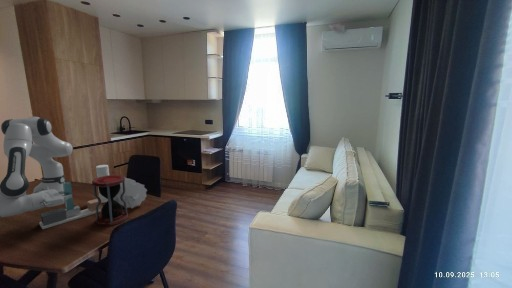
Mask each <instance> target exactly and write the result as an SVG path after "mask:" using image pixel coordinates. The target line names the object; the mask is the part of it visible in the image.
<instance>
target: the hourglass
mask: <svg viewBox="0 0 512 288" xmlns="http://www.w3.org/2000/svg"><path fill="white" fill-rule="evenodd" d="M91 182H92V183H91V185H92V187H93V196H94V197H95V199H98V204H97V205H96V213H95V214H96V215H95V216H96V220H95V222H96V225H97V226H100V227H107V226H108V227H109V226H114V225H118V224H120V223H123V222H124V221H125V220H127V219H128V217H129V213H128V208H127V205H126V201H124V200H123V195H124V194H125V175H121V174H109V175H108V176H102V177H99V178H97V177H96V178H94V179H92V180H91ZM120 183H123V193H122V194H121V196H120V199H121V201H123V203H124V206H123V205H121V204H120V203H118V202H117V201H115V200H113V198H114V197H115V196H116V195H117V194H118V193H119V191H120ZM98 188H99V192H98V194H99V193H100V194H101V195H102V196H103V197H105V198H107V199H108V201H107V202H106V203H104V204H103V205H102V209H101V212H99V213H100V214H101V215H99V213H98V206H99V205H100V204H101V199H100V198H99V195H97V189H98ZM123 208H124V210H123Z"/></svg>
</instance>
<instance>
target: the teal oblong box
mask: <svg viewBox="0 0 512 288" xmlns="http://www.w3.org/2000/svg"><path fill="white" fill-rule="evenodd" d="M63 190H64V195H63V196H67V195H70V194H72V195H73V189H72V183H71V181H65V183H63ZM64 204H65V208H64V209H65V210H66V216H67V217H69V216H72V215H76V214H79V213H81V207H80V206H79V205H76V206H74V198H73V197H72V198H69V199H67V200H64Z"/></svg>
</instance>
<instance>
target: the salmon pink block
mask: <svg viewBox="0 0 512 288" xmlns="http://www.w3.org/2000/svg"><path fill="white" fill-rule="evenodd" d="M97 204H98V199H97V198H94V199H92V200H91V199H90V200H87V209H88V210H89V211H91V212H93V211H96V205H97ZM102 204H103V203H101V204H100V205H99V206H98V210H100V209H102V207H103V205H102Z"/></svg>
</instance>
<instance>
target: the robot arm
mask: <svg viewBox="0 0 512 288" xmlns="http://www.w3.org/2000/svg"><path fill="white" fill-rule="evenodd" d="M0 127H1V128H0V130H1V132H2V134H3V135H4V138H3V146H2V147H3V154H4V155H5V156H6V158H7V161H8V162H7V170H6V175H5V177H4V178H3V179H2V180H1V181H0V218H6V217H13V216H17V215H18V216H19V215H22V214H24V213H26V212H33V211H38V210H41V209H44V208H45V207H46V208H52V207H56V206H57V207H58V206H61V205H64V204H65V200H67V199H69V198H72V197H73V193H72V194H70V195H67V196H64V190H63V183H65V182H66V175H65V173H64V167H63V164H62V163H61V162H59V161H56V160H54V159H53V158H62V157H68V156H70V155H71V154H72V153H73V150H74V147H73V146H72V144H71V142H68V141H64V140H61V139H60V138H58V137H56V135H54V134H53V132H52V123H51V122H50V121H49V120H48V119H46V118H41V117H39V116H30V117H25V118H15V119H12V118H11V119H6V120H4V121H3V122H1V125H0ZM27 157H30V158H31V159H34V160H35V161H37V162H38V163H39V165H40V167H41V169H42V173H43V177H41V178H40V179H39V180H40V181H41V182H40V183H38V185H36V186H35V187H34V188H33V192H32V193H30V194H27V191H28V189H29V186H30V182H29V180H28V178H27V176H26V172H25V171H26V159H27Z"/></svg>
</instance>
